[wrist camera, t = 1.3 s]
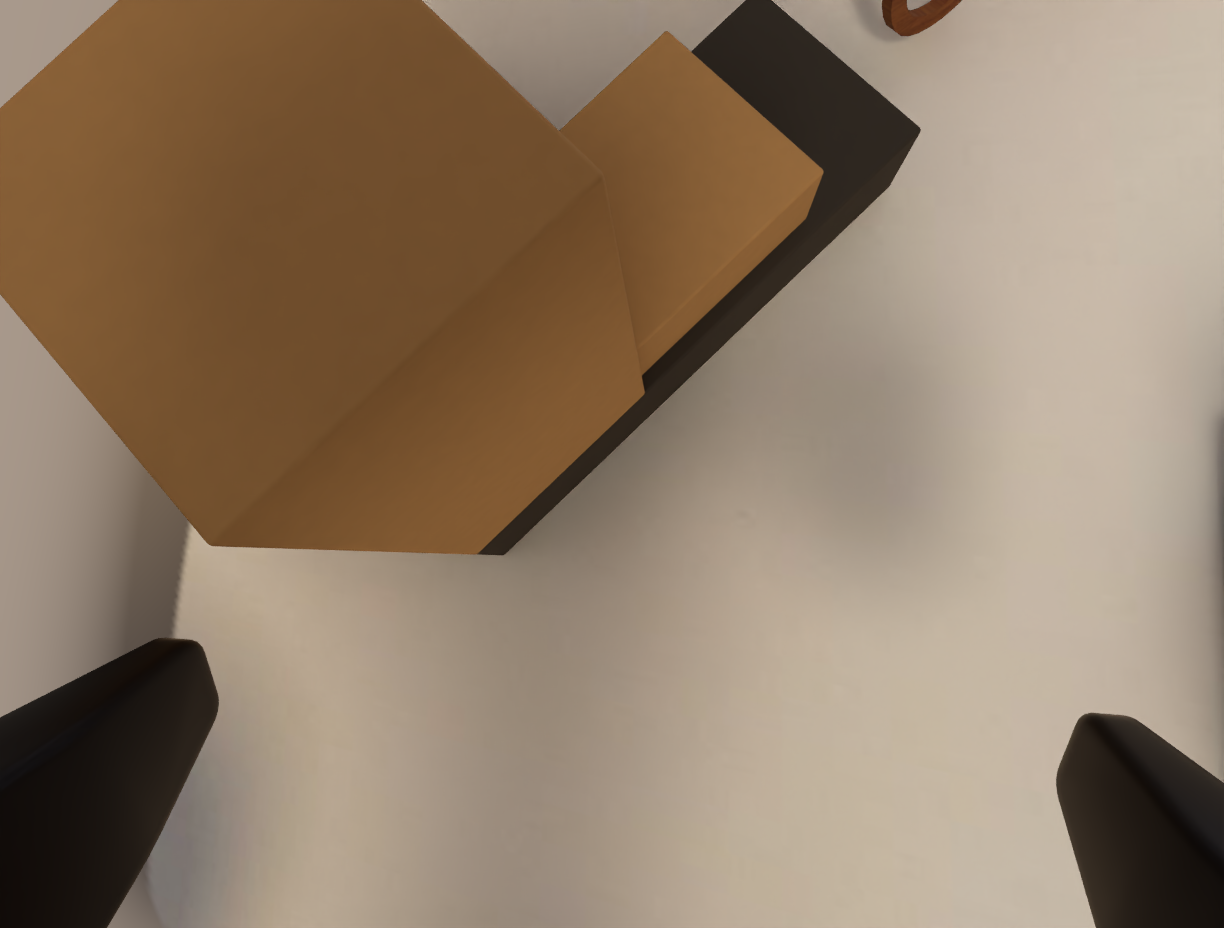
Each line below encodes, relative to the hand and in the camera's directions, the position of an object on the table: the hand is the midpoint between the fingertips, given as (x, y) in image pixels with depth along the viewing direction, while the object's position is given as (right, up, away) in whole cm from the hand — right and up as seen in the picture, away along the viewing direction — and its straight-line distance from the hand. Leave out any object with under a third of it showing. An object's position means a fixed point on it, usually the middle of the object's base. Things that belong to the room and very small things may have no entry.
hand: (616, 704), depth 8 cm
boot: (0, +7, +15) cm, 17 cm away
